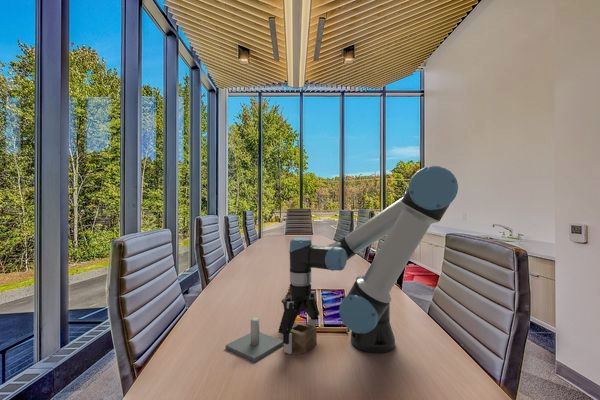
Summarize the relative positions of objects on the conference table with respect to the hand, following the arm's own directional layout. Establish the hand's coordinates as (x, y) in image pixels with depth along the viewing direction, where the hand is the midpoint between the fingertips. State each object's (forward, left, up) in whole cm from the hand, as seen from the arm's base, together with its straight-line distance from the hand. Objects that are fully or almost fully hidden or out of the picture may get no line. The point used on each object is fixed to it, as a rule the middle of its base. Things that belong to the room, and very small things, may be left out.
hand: (300, 344), depth 102 cm
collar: (0, 0, 0) cm, 0 cm away
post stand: (+12, +10, 0) cm, 16 cm away
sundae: (+13, -10, 0) cm, 16 cm away
